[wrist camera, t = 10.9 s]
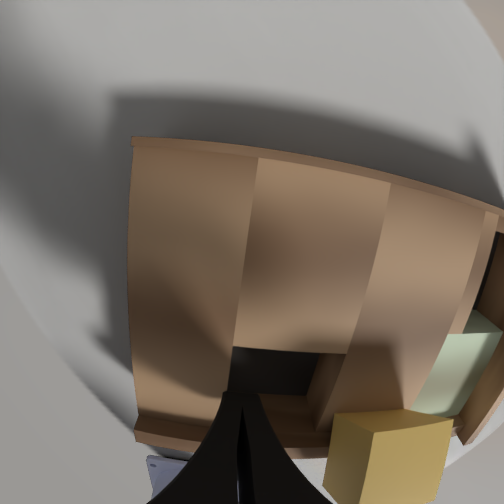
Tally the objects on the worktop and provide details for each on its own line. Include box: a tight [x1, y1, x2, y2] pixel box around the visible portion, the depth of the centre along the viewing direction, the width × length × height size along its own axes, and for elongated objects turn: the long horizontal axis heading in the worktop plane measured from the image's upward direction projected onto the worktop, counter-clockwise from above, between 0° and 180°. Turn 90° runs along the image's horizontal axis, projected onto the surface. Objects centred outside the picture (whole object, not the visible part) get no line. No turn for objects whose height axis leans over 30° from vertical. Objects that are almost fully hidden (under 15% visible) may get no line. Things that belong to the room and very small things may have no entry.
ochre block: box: [322, 409, 454, 504], centre depth 10 cm, size 4×4×4 cm
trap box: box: [127, 136, 504, 459], centre depth 12 cm, size 13×19×5 cm
